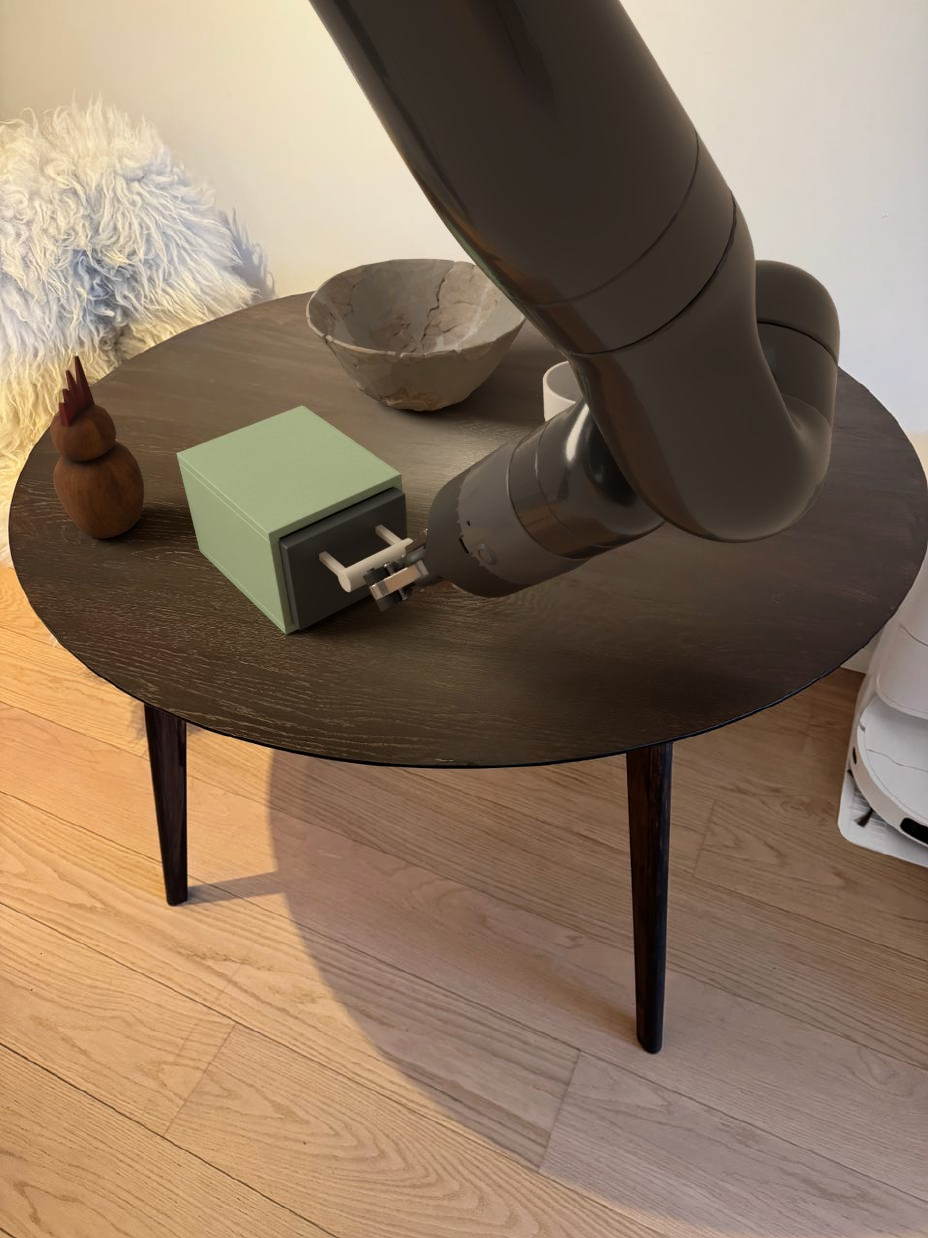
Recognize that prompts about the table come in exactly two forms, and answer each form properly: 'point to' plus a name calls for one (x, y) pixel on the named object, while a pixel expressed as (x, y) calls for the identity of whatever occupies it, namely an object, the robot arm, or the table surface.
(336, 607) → the fryer drawer
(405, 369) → the ceramic bowl
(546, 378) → the cup
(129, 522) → the wooden figurine
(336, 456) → the green drawer cabinet
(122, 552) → the table surface
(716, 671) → the table surface
